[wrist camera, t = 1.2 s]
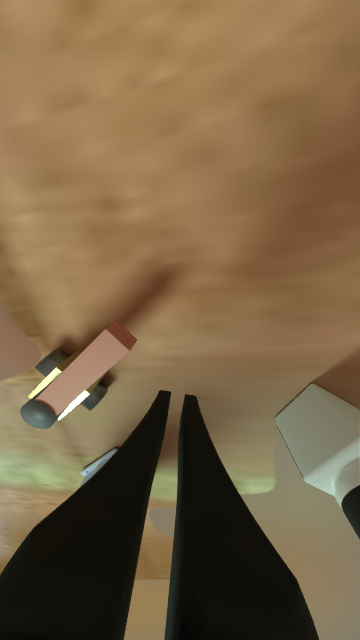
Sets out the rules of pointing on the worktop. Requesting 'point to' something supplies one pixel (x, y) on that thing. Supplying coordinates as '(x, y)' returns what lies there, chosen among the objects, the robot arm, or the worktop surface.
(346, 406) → the medicine bottle
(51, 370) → the valve
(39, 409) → the lever
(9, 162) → the worktop surface
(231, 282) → the worktop surface
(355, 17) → the worktop surface
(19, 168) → the worktop surface
